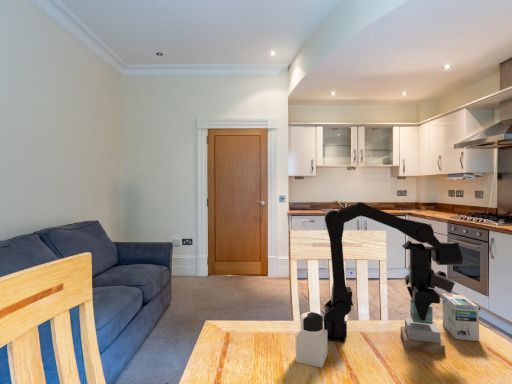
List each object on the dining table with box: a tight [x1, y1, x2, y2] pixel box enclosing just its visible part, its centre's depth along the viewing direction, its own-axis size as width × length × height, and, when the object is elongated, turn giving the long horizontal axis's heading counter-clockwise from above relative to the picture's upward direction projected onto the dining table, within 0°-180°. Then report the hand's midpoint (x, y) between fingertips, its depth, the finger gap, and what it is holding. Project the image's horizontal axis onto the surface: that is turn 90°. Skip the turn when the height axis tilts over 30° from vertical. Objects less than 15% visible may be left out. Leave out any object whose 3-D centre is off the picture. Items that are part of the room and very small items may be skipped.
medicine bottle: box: [295, 311, 329, 368], centre depth 84 cm, size 7×7×12 cm
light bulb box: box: [441, 293, 480, 342], centre depth 98 cm, size 11×7×11 cm, turn 168°
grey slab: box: [404, 317, 442, 343], centre depth 92 cm, size 8×8×3 cm
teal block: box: [409, 299, 434, 324], centre depth 92 cm, size 5×5×5 cm
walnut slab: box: [400, 325, 446, 355], centre depth 92 cm, size 10×10×3 cm
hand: (420, 316), depth 92 cm, fingers closed on teal block, 5 cm apart
